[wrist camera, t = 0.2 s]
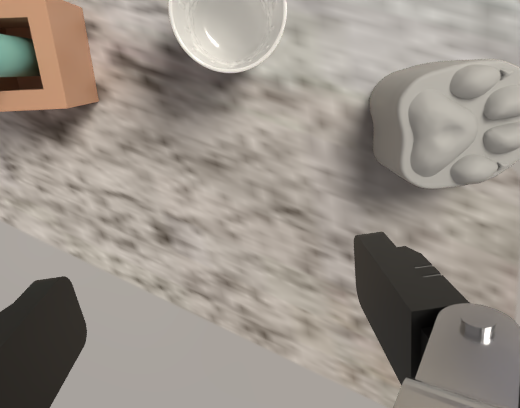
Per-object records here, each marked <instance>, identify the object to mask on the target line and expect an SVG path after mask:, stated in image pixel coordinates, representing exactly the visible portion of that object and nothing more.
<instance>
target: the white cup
mask: <svg viewBox="0 0 520 408" xmlns="http://www.w3.org/2000/svg"><path fill="white" fill-rule="evenodd" d="M168 11H169V18H170V23H171V27H172V30H173V32H174V35H175V37H176V39H177V41H178V42H179V44H180V45H181V47H182V48H183V50H184V51H185V52H186V53H187V54H188V55H189V56H190V57H191V58H192V59H193V60H194V61H196V62H197V63H198V64H200V65H202V66H203V67H205V68H208V69H210V70H213V71H216V72H221V73H238V72H243V71H246V70H249V69H251V68H253V67H255V66H257V65H259V64H260V63H262V62H263V61H264V60H265V59H266V58H267V57H268V56H269V55H270V54H271V53H272V52H273V51H274V49H275V48H276V46H277V45H278V43H279V41H280V39H281V37H282V34H283V31H284V28H285V23H286V16H287V3H286V0H168Z"/></svg>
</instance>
